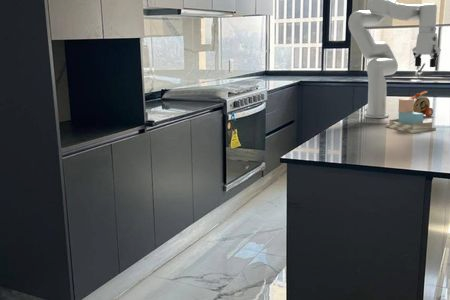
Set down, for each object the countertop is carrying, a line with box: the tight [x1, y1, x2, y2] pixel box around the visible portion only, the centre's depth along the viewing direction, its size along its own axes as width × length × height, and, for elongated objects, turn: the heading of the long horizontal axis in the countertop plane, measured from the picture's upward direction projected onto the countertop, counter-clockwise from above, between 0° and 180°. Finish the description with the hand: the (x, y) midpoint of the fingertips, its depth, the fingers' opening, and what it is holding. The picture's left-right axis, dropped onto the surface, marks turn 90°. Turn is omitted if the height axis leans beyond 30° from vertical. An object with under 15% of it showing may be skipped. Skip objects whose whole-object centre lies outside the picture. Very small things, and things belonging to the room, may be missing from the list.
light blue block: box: [397, 111, 424, 125], centre depth 237 cm, size 12×4×6 cm, turn 22°
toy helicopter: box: [409, 90, 434, 118], centre depth 265 cm, size 8×21×14 cm, turn 120°
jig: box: [385, 117, 437, 134], centre depth 237 cm, size 18×14×4 cm
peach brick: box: [398, 97, 415, 113], centre depth 238 cm, size 4×5×6 cm
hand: (425, 66), depth 241 cm, fingers open, 9 cm apart
